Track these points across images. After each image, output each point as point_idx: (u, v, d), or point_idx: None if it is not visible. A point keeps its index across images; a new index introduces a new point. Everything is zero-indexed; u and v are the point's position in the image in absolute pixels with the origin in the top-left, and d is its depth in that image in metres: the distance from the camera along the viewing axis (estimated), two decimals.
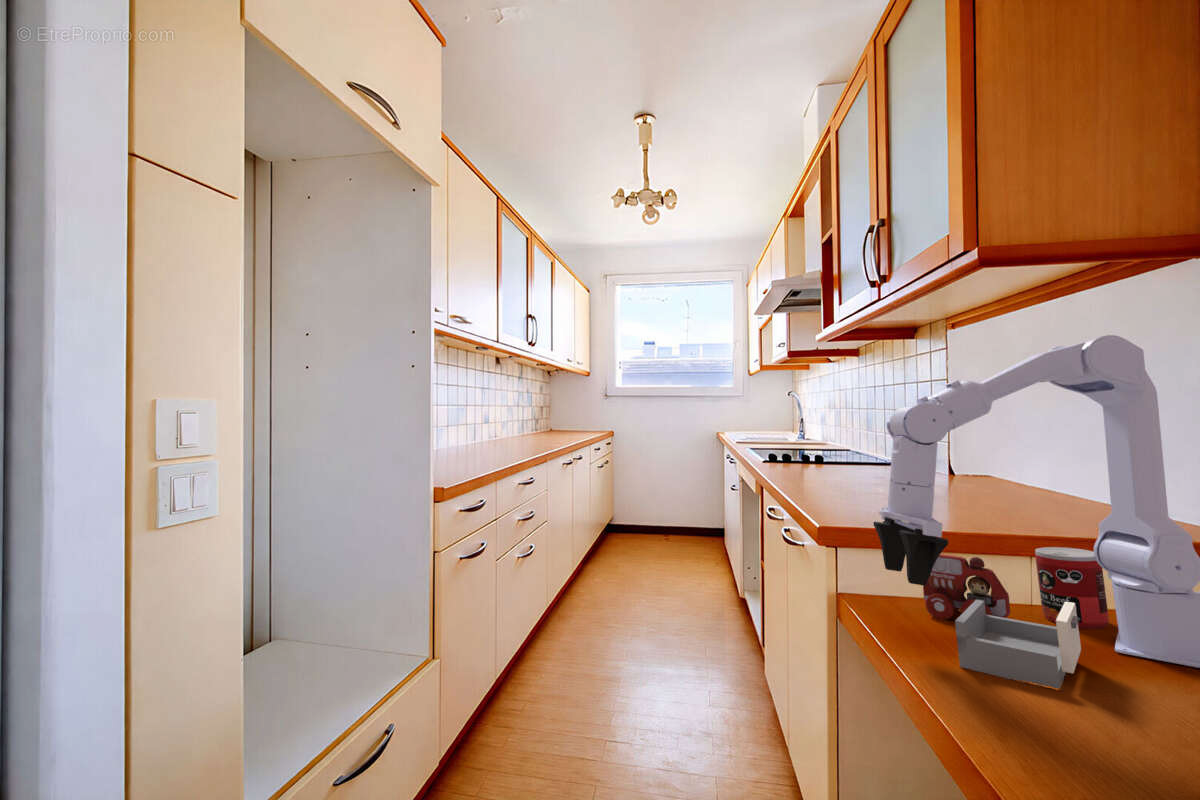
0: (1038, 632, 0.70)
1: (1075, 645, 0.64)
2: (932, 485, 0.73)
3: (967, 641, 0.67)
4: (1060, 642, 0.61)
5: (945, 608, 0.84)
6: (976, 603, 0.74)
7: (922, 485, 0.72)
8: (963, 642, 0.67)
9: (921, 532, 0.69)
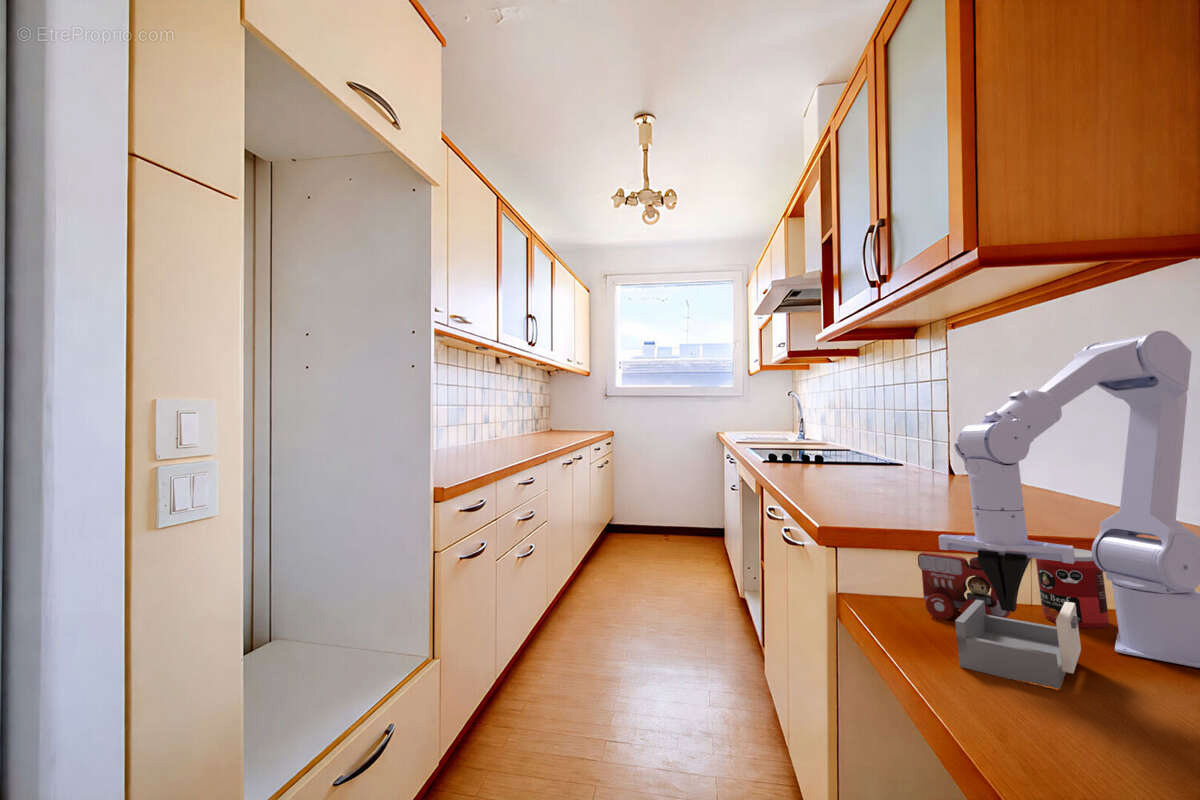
0: (1038, 632, 0.70)
1: (1075, 645, 0.64)
2: (1023, 507, 0.68)
3: (967, 641, 0.67)
4: (1060, 642, 0.61)
5: (945, 608, 0.84)
6: (976, 603, 0.74)
7: (1023, 508, 0.68)
8: (963, 642, 0.67)
9: (1022, 557, 0.67)
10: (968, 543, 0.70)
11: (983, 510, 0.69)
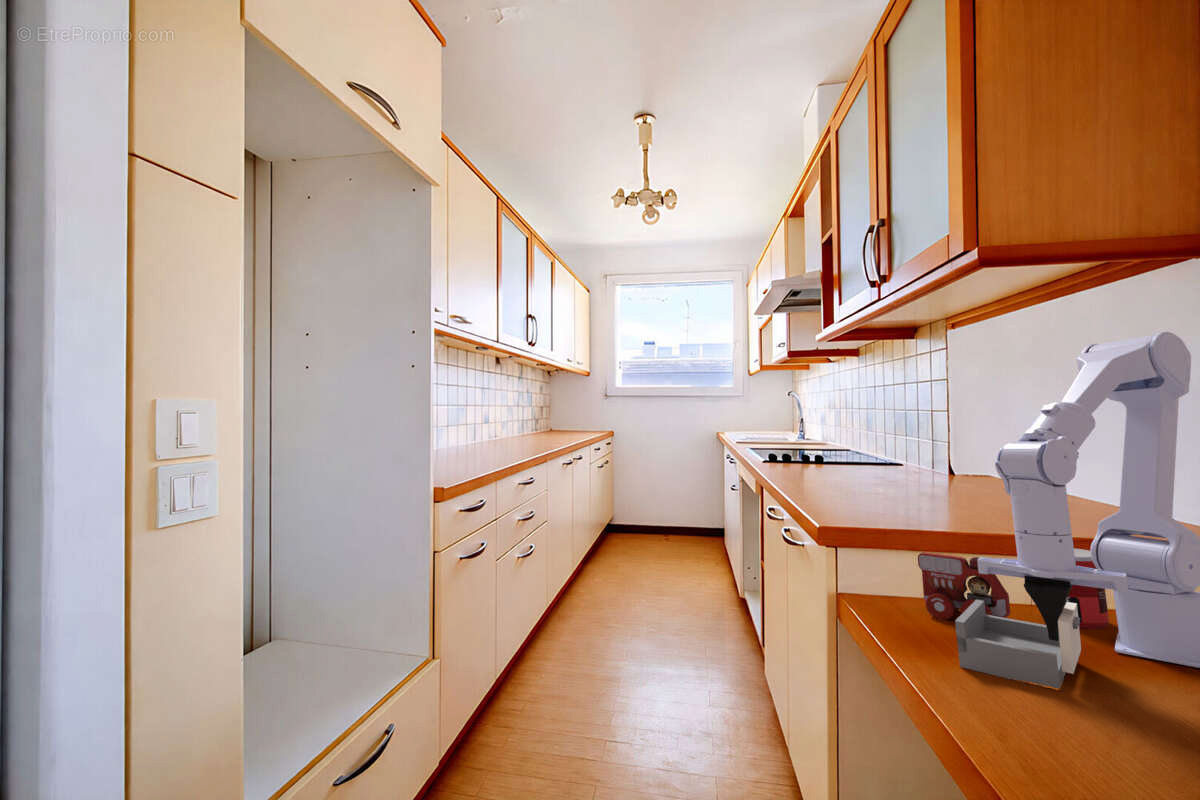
0: (1038, 632, 0.70)
1: (1076, 645, 0.64)
2: None
3: (967, 641, 0.67)
4: (1061, 642, 0.61)
5: (945, 608, 0.84)
6: (976, 603, 0.74)
7: (1071, 532, 0.64)
8: (963, 642, 0.67)
9: (1065, 583, 0.64)
10: (1011, 568, 0.67)
11: (1028, 534, 0.65)
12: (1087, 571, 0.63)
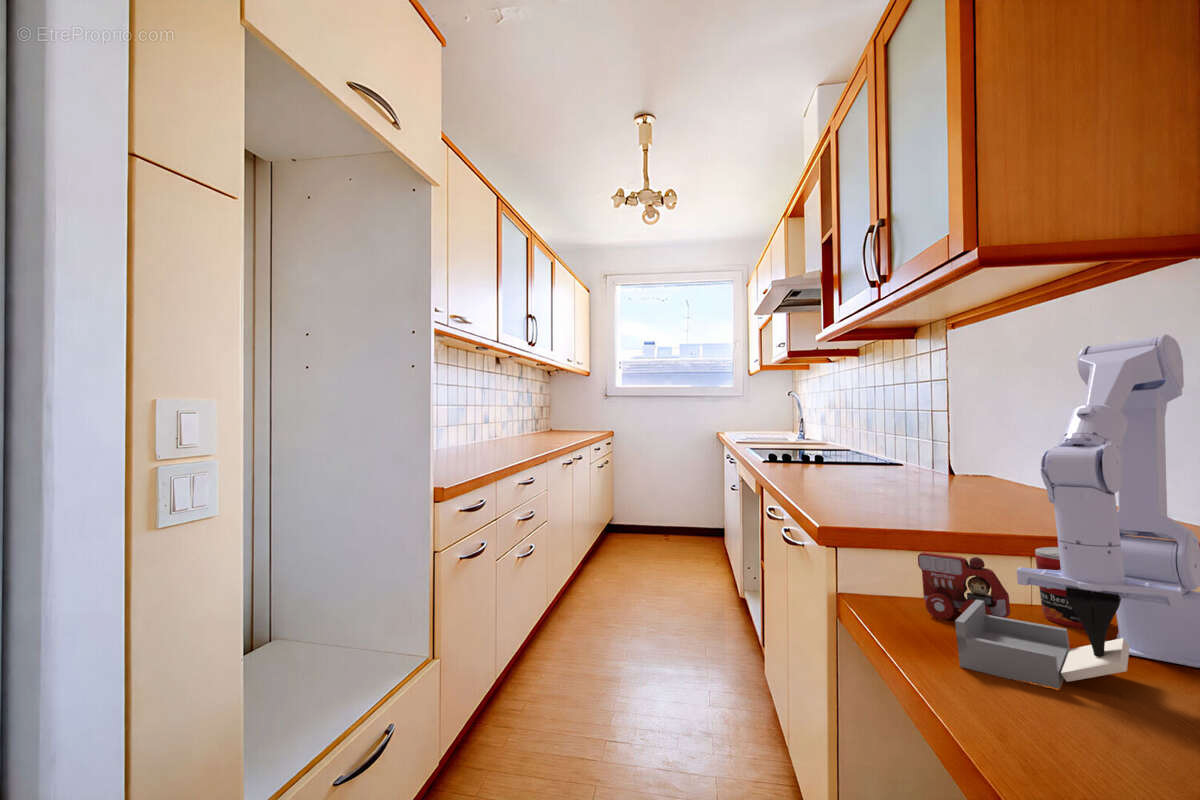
0: (1038, 632, 0.70)
1: None
2: None
3: (967, 641, 0.67)
4: (1094, 668, 0.59)
5: (945, 608, 0.84)
6: (976, 603, 0.74)
7: (1120, 543, 0.61)
8: (963, 642, 0.67)
9: (1114, 597, 0.60)
10: (1054, 579, 0.64)
11: (1073, 544, 0.62)
12: (1138, 584, 0.59)
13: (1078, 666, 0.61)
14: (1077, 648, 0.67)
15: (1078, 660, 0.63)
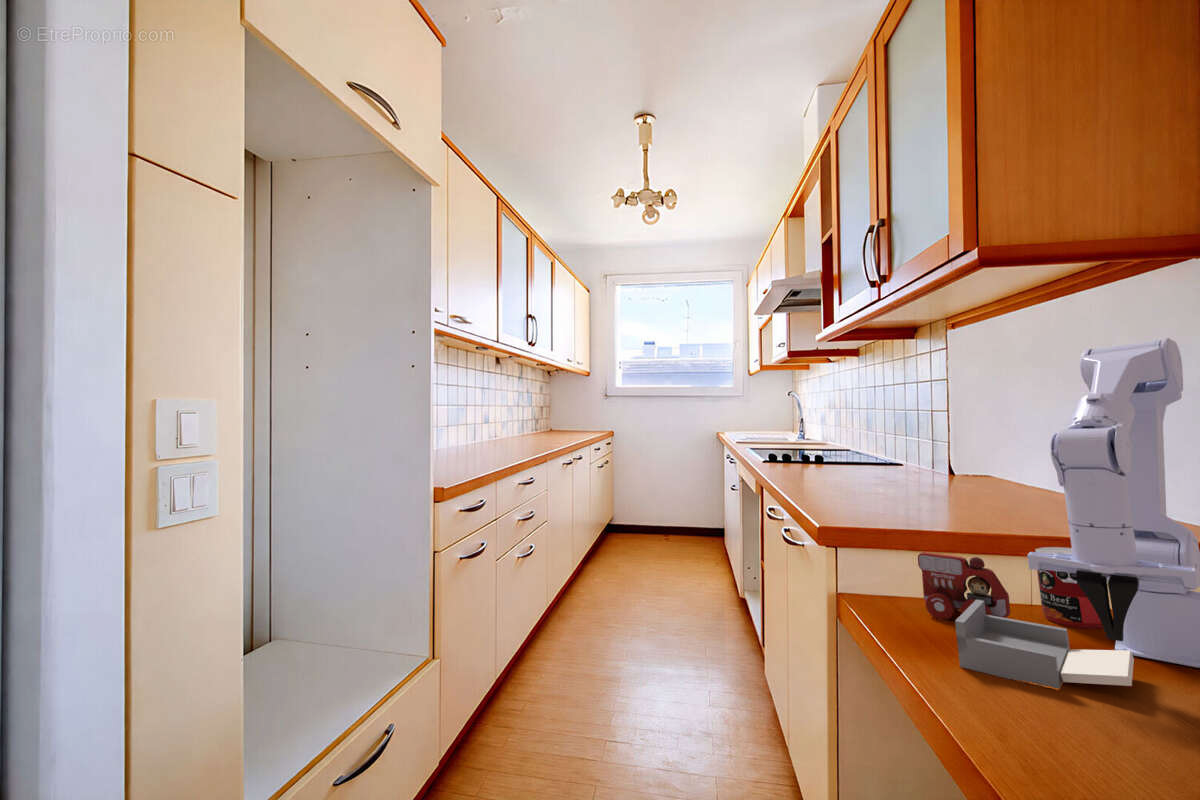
0: (1038, 632, 0.70)
1: None
2: None
3: (967, 641, 0.67)
4: (1097, 676, 0.59)
5: (945, 608, 0.84)
6: (976, 603, 0.74)
7: (1132, 524, 0.60)
8: (963, 642, 0.67)
9: (1132, 579, 0.59)
10: (1066, 563, 0.63)
11: (1085, 527, 0.61)
12: (1151, 566, 0.59)
13: (1079, 670, 0.61)
14: (1077, 650, 0.66)
15: (1079, 663, 0.63)
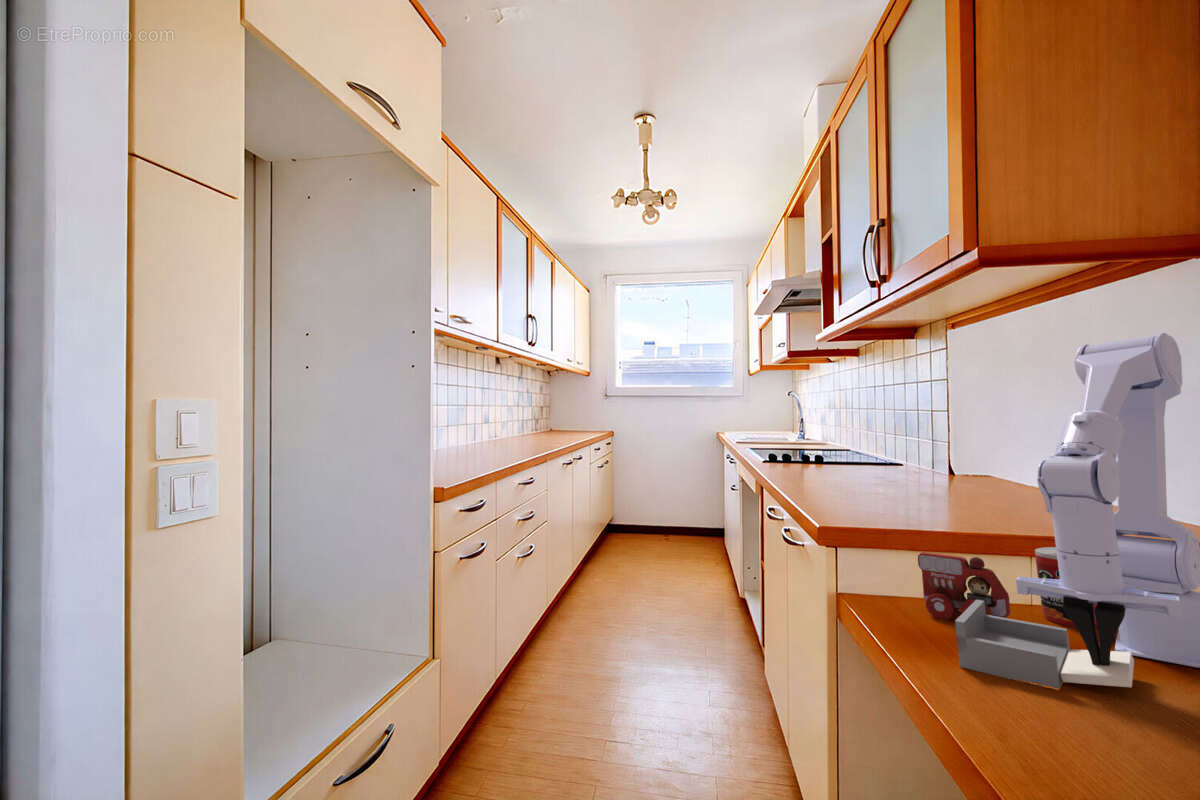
0: (1038, 632, 0.70)
1: None
2: None
3: (967, 641, 0.67)
4: (1098, 677, 0.59)
5: (945, 608, 0.84)
6: (976, 603, 0.74)
7: None
8: (963, 642, 0.67)
9: (1119, 607, 0.60)
10: (1053, 589, 0.64)
11: (1072, 554, 0.62)
12: (1136, 594, 0.60)
13: (1080, 670, 0.61)
14: (1077, 650, 0.66)
15: (1079, 664, 0.63)
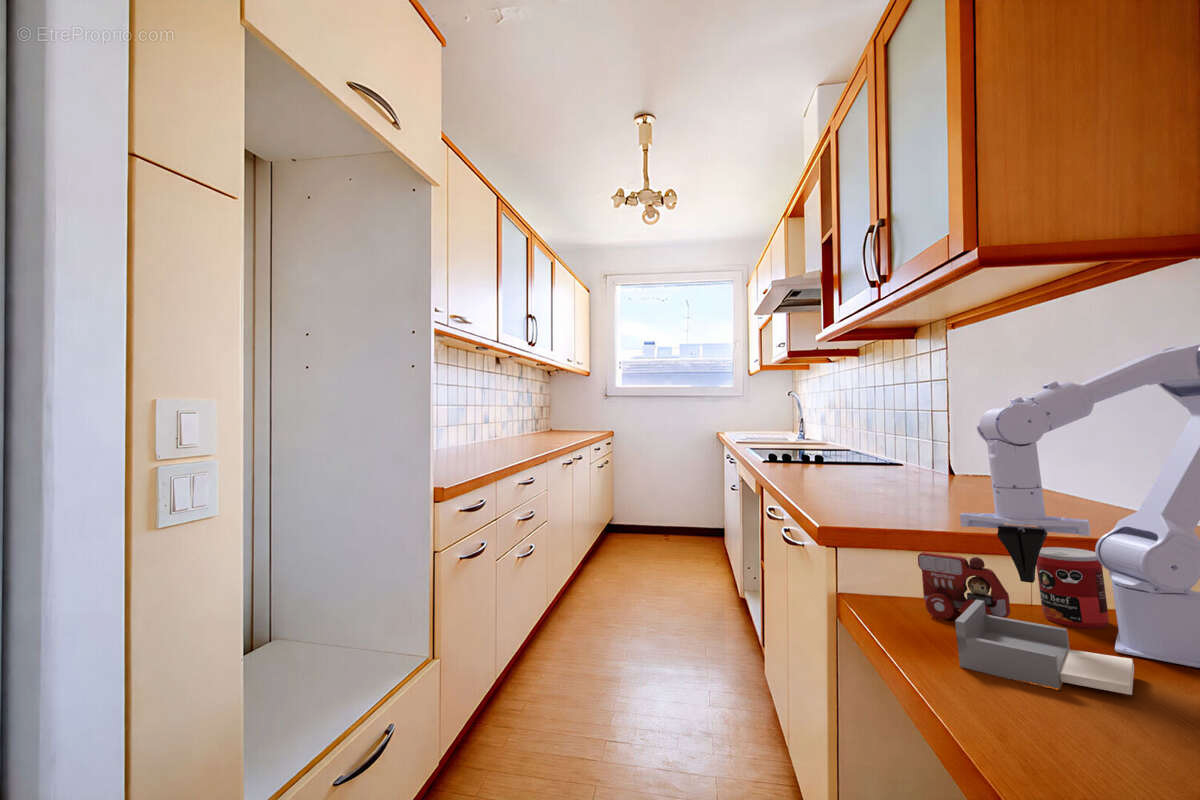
0: (1038, 632, 0.70)
1: None
2: (1039, 485, 0.72)
3: (967, 641, 0.67)
4: (1098, 681, 0.59)
5: (945, 608, 0.84)
6: (976, 603, 0.74)
7: (1041, 485, 0.72)
8: (963, 642, 0.67)
9: (1040, 531, 0.72)
10: (989, 519, 0.75)
11: (1003, 488, 0.73)
12: (1055, 519, 0.71)
13: (1080, 673, 0.61)
14: (1077, 651, 0.66)
15: (1079, 666, 0.62)
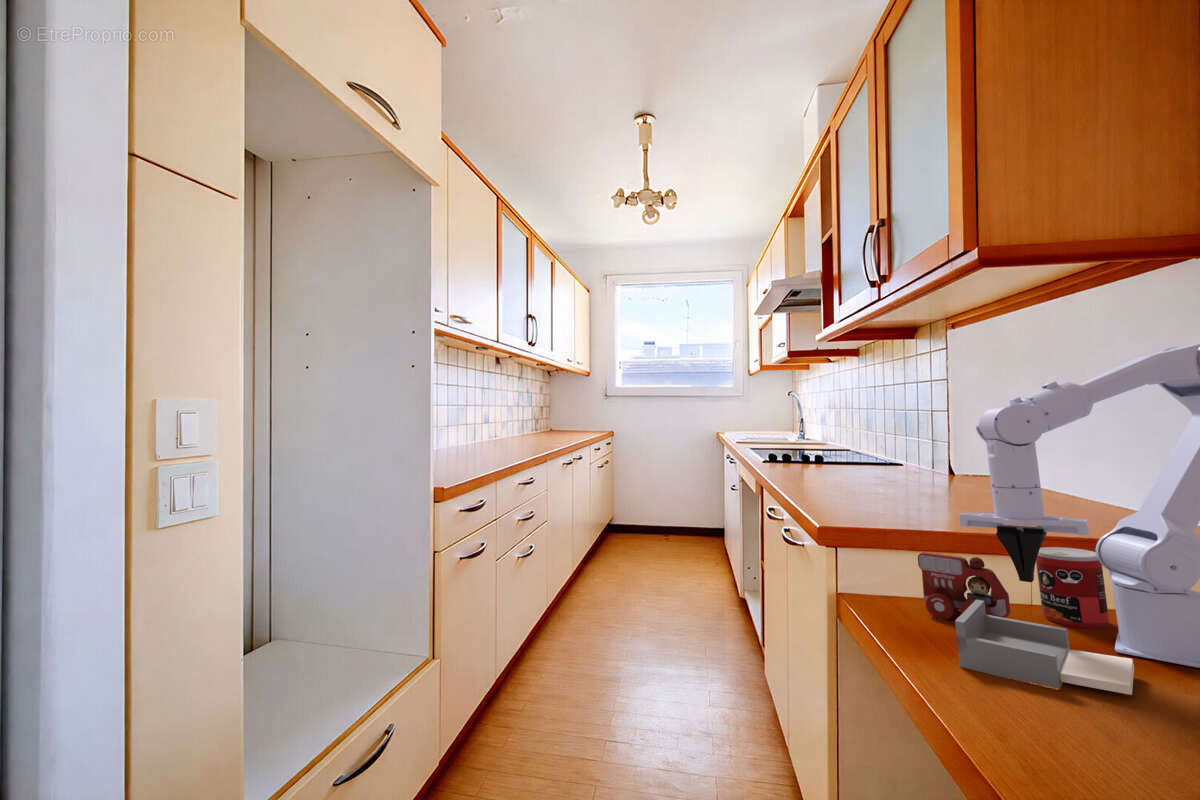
0: (1038, 632, 0.70)
1: None
2: (1038, 485, 0.72)
3: (967, 641, 0.67)
4: (1098, 681, 0.59)
5: (945, 608, 0.84)
6: (976, 603, 0.74)
7: (1040, 485, 0.73)
8: (963, 642, 0.67)
9: (1039, 531, 0.72)
10: (988, 519, 0.75)
11: (1002, 488, 0.74)
12: (1054, 519, 0.71)
13: (1080, 673, 0.61)
14: (1077, 651, 0.66)
15: (1079, 666, 0.62)
